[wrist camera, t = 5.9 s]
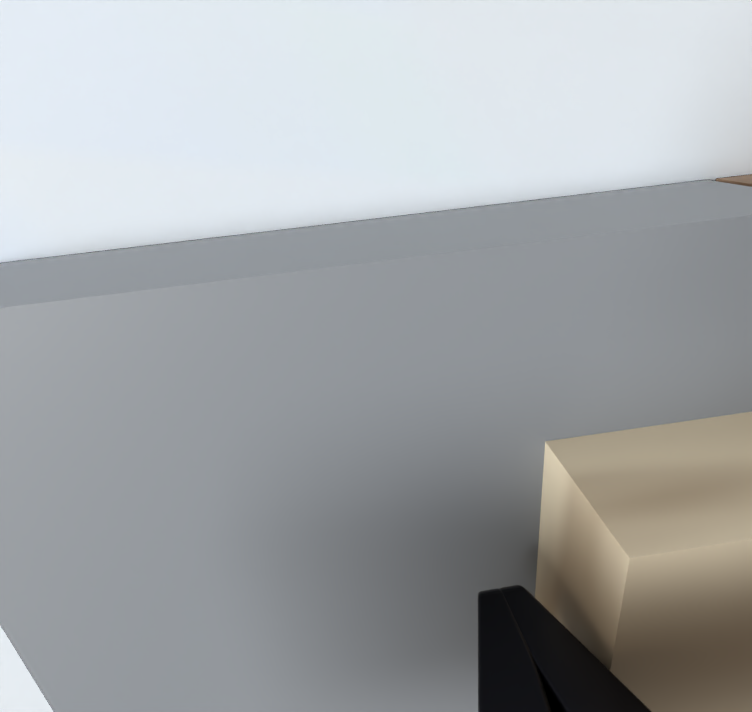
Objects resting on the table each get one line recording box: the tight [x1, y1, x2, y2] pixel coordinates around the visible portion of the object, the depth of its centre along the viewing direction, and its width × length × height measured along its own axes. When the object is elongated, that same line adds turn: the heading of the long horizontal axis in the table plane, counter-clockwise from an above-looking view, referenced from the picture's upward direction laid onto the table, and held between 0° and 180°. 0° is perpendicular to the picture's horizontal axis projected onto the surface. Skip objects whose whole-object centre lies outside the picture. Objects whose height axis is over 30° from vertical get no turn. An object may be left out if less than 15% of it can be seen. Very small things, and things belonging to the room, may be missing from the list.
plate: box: [0, 180, 752, 712], centre depth 11 cm, size 12×14×3 cm
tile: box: [535, 412, 752, 712], centre depth 9 cm, size 6×6×2 cm
